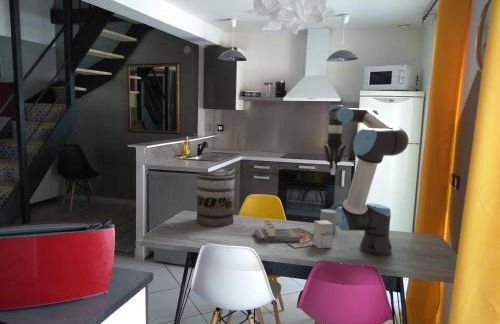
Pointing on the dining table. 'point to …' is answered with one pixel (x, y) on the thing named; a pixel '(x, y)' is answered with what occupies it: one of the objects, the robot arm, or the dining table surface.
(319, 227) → the supplement box
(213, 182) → the barrel
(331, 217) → the grey block
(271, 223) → the breaker mid
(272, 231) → the breaker
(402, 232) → the dining table surface
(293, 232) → the panel
